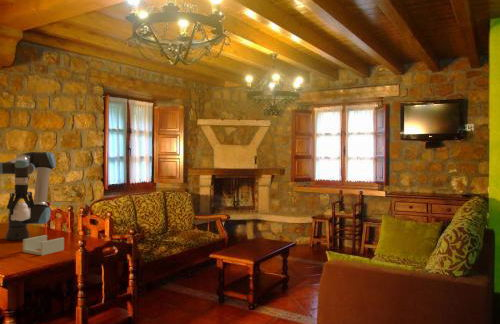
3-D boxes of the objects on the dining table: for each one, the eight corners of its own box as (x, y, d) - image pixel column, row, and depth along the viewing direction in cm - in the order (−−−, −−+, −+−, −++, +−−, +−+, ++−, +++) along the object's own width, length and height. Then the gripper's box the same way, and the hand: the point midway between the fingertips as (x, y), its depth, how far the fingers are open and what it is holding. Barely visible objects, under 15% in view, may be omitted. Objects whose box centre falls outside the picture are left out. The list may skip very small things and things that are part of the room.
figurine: (32, 219, 268) (32, 201, 268) (26, 222, 258) (27, 203, 258) (16, 219, 266) (16, 201, 266) (9, 222, 257) (10, 203, 256)
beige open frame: (22, 252, 256) (23, 239, 256) (45, 246, 271) (45, 235, 271) (42, 255, 249) (42, 242, 249) (64, 250, 265) (64, 237, 264)
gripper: (8, 185, 250) (7, 221, 250) (41, 183, 270) (40, 217, 270) (0, 184, 253) (-1, 220, 253) (33, 183, 273) (32, 216, 274)
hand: (20, 218), depth 262 cm, fingers closed on figurine, 10 cm apart
